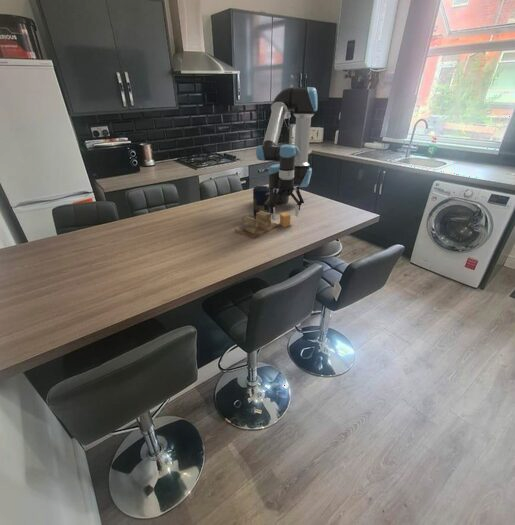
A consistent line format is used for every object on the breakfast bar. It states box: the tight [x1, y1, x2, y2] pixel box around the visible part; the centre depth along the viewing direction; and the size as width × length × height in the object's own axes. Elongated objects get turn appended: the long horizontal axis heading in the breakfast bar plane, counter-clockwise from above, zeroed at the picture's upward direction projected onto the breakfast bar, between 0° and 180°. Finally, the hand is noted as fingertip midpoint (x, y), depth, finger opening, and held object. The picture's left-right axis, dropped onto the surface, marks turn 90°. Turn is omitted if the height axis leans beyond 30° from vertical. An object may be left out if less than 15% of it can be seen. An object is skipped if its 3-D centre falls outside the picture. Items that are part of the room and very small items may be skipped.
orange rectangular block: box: [279, 212, 291, 228], centre depth 159 cm, size 5×4×6 cm
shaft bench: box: [234, 211, 280, 240], centre depth 154 cm, size 20×14×7 cm
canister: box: [252, 185, 271, 218], centre depth 167 cm, size 10×10×18 cm
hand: (285, 217), depth 158 cm, fingers open, 13 cm apart
